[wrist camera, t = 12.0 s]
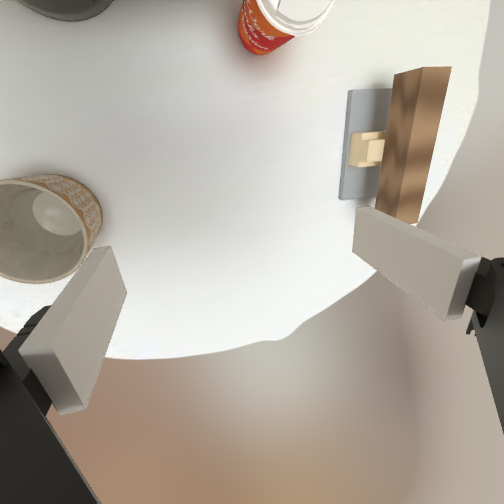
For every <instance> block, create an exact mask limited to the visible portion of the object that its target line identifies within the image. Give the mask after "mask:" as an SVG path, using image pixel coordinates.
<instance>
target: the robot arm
mask: <svg viewBox="0 0 504 504" xmlns="http://www.w3.org/2000/svg"><path fill="white" fill-rule="evenodd" d="M19 1H20V2H22V3H23V4H25V5H26V6H28V7H29V8H31V9H33V10H35V11H36V12H38V13H41V14H43V15H45V16H48V17H51V18H54V19H59V20H64V21H79V20H85V19H88V18H91V17H94V16H96V15H97V14H99V13H101V12H102V11H103V10H105V9H106V8H107V7H108V6H109V5H110V3H111V2H112V1H113V0H19ZM352 252H353V253H355V254H356V255H357V256H359V257H360V258H361V259H363V260H364V261H365V262H367V263H368V264H369V265H370V266H372V267H373V268H374V269H376V270H377V271H378V272H380V273H381V274H382V275H384V276H385V277H386V278H388V279H389V280H390V281H392V282H393V283H394V284H396V285H397V286H398V287H400V288H401V289H402V290H404V291H405V292H406V293H407V294H409V295H410V296H411V297H413V298H414V299H415V300H417V301H418V302H419V303H421V304H422V305H423V306H425V307H426V308H427V309H429V310H430V311H431V312H433V313H434V314H435V315H437V316H438V317H439V318H440V319H442V320H443V321H444V322H445V321H449V320H454V319H458V318H461V317H462V314H463V311H464V308H465V305H467V306H469V307H470V308H472V309H473V310H474V311H473V313H472V316H471V319H470V322H469V325H468V328H467V330H466V334H470V332H471V331H472V330H475V336H476V337H477V340H478V344H479V348H480V351H481V355H482V358H483V362H484V366H485V369H486V373H487V376H488V380H489V383H490V387H491V390H492V394H493V398H494V401H495V405H496V408H497V412H498V415H499V419H500V423H501V426H502V430H503V433H504V258H495V259H493V260H488V259H486V258H484V257H482V256H480V255H478V254H476V253H474V252H471V251H469V250H467V249H465V248H462V247H460V246H458V245H455V244H453V243H451V242H449V241H446V240H444V239H442V238H440V237H437V236H435V235H433V234H431V233H428V232H426V231H424V230H421V229H419V228H417V227H415V226H412V225H410V224H408V223H406V222H403V221H401V220H399V219H397V218H394V217H392V216H390V215H387V214H385V213H383V212H381V211H378V210H376V209H374V208H372V207H369V206H366V207H360V208H356V216H355V227H354V237H353V248H352ZM126 294H127V291H126V288H125V285H124V282H123V280H122V277H121V274H120V271H119V268H118V265H117V262H116V259H115V256H114V254H113V251H112V248H111V246H107V247H100V248H94V249H93V251H92V252H91V253H90V255H89V256H88V257H87V259H86V260H85V261H84V263H83V264H82V265H81V267H80V268H79V269H78V271H77V272H76V273H75V275H74V276H73V277H72V279H71V280H70V281H69V283H68V284H67V285H66V287H65V288H64V289H63V291H62V292H61V293H60V295H59V296H58V297H57V299H56V300H55V301H54V303H53V304H52V305H50V306H45V307H43V308H42V309H41V310H39V311H38V312H37V313H35V314H34V315H33V316H31V318H30V319H29V320H28V321H27V323H26V324H25V325H24V328H22V329H21V330H20V331H19V332H18V334H17V337H14V339H13V340H12V341H11V342H10V344H9V345H8V346H7V347H6V348H5V350H4V351H3V352H2V351H1V350H0V504H101V502H100V501H99V499H98V498H97V496H96V495H95V493H94V491H93V490H92V488H91V487H90V485H89V484H88V482H87V480H86V479H85V477H84V476H83V474H82V473H81V471H80V470H79V468H78V466H77V465H76V463H75V462H74V460H73V459H72V457H71V456H70V454H69V452H68V451H67V449H66V448H65V446H64V444H63V443H62V441H61V440H60V438H59V437H58V435H57V434H56V432H55V430H54V429H53V427H52V426H51V424H50V422H49V421H48V420H47V418H46V417H45V416H46V414H47V412H48V410H49V408H50V406H51V404H53V406H54V408H55V409H56V411H57V412H58V414H59V415H64V414H68V413H72V412H76V411H80V410H84V409H86V408H87V405H88V402H89V399H90V396H91V394H92V391H93V388H94V385H95V382H96V380H97V377H98V374H99V371H100V368H101V365H102V362H103V359H104V357H105V354H106V351H107V348H108V345H109V343H110V340H111V337H112V334H113V331H114V328H115V326H116V323H117V320H118V317H119V314H120V311H121V309H122V306H123V303H124V300H125V297H126Z"/></svg>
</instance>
